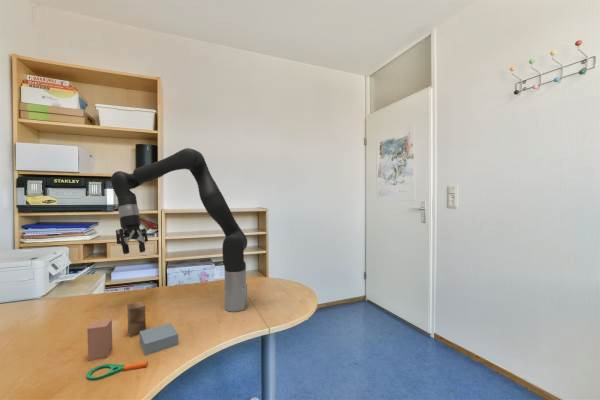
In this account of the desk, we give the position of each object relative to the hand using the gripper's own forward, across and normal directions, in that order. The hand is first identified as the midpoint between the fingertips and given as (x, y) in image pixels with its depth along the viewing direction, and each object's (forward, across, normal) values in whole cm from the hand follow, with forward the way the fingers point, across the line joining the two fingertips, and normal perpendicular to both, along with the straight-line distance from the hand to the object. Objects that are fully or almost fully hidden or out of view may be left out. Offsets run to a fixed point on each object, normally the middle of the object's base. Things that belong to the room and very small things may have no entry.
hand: (134, 252), depth 119 cm
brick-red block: (+32, -25, -6) cm, 41 cm away
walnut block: (+30, -11, -6) cm, 33 cm away
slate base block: (+34, -16, -19) cm, 42 cm away
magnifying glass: (+36, -30, -17) cm, 50 cm away
